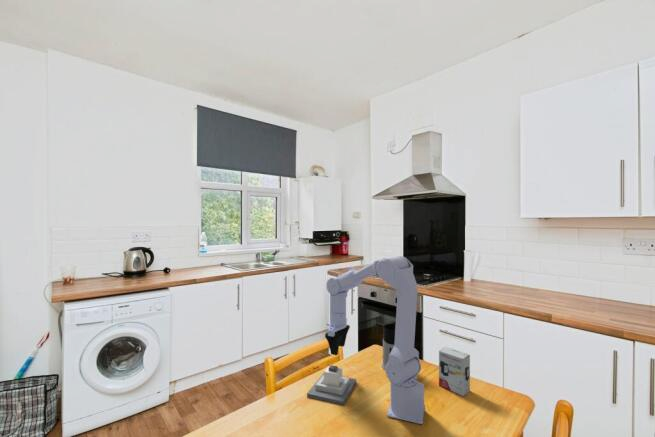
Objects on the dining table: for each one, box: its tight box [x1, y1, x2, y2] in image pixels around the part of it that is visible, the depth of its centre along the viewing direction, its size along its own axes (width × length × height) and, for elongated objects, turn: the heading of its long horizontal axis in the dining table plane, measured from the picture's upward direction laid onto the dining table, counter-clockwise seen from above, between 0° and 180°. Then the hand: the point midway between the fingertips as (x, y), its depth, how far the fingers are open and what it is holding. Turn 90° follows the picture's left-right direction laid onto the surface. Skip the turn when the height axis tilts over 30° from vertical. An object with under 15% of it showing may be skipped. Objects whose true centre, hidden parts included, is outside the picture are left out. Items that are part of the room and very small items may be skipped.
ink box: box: [438, 346, 471, 397], centre depth 99 cm, size 9×5×12 cm, turn 42°
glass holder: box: [381, 323, 396, 371], centre depth 111 cm, size 9×14×15 cm, turn 178°
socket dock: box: [306, 372, 357, 406], centre depth 98 cm, size 12×14×2 cm
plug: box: [323, 365, 343, 388], centre depth 98 cm, size 5×4×6 cm
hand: (337, 350), depth 106 cm, fingers open, 7 cm apart
